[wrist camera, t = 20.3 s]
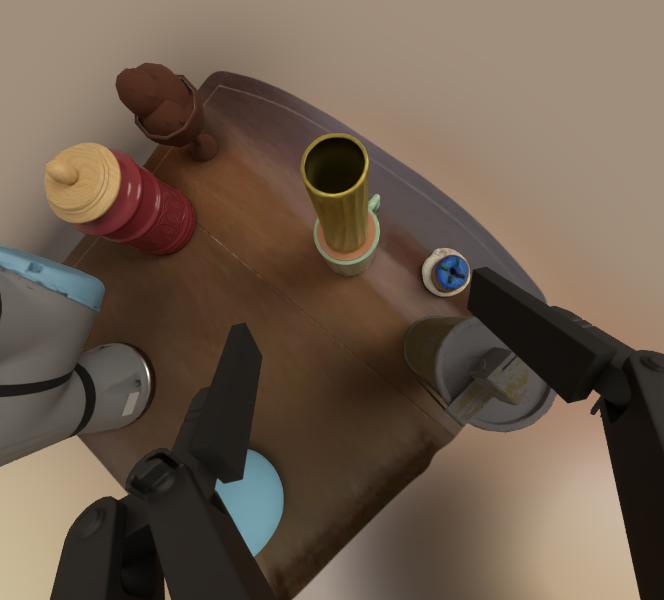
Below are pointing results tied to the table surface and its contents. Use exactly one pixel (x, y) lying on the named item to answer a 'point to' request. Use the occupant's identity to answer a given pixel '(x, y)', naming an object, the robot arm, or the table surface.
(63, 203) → the kitchen canister
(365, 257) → the mug
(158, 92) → the ice cream bowl
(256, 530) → the sugar bowl
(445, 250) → the dessert
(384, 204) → the table surface
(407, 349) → the canister
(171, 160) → the table surface
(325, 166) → the vase
